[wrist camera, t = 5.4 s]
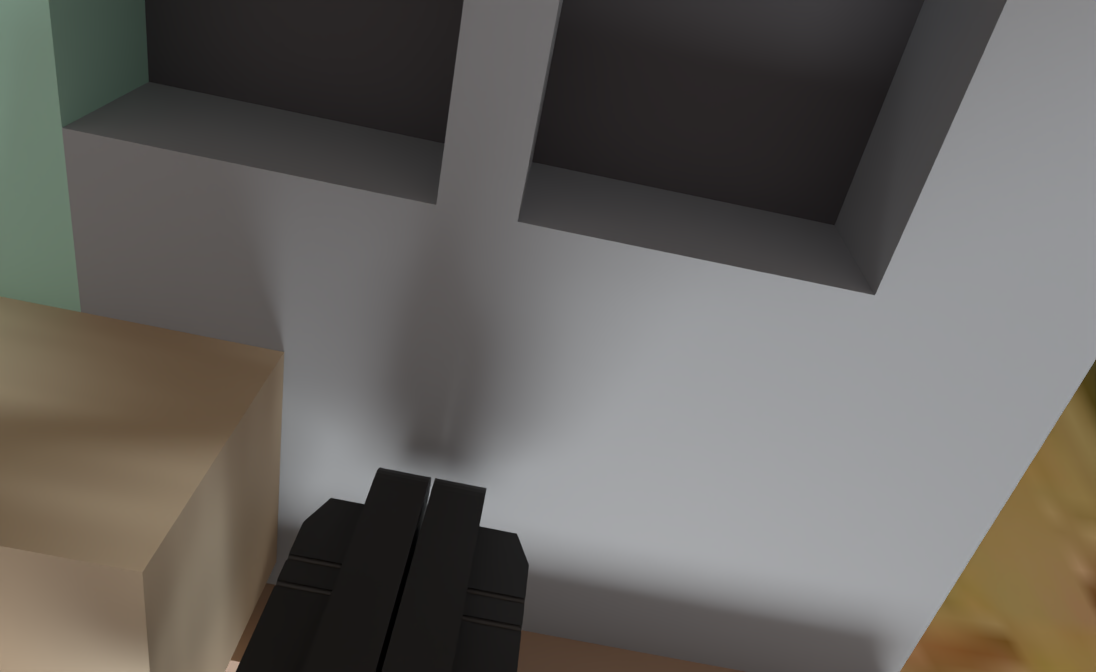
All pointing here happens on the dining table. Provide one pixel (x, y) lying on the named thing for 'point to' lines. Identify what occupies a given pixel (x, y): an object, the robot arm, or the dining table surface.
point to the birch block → (132, 492)
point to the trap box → (602, 278)
